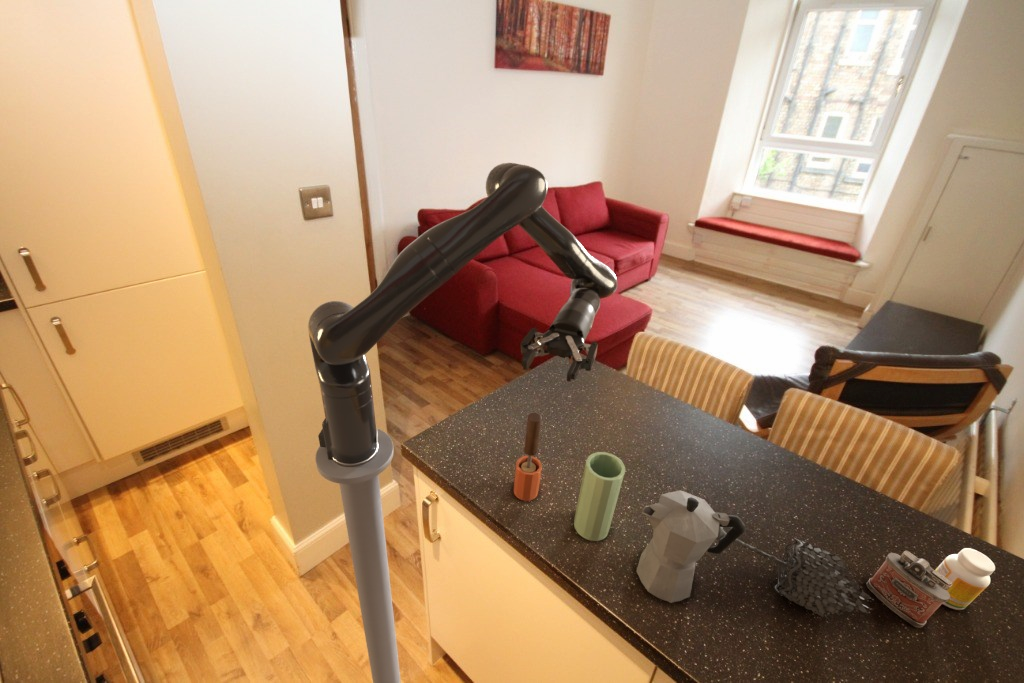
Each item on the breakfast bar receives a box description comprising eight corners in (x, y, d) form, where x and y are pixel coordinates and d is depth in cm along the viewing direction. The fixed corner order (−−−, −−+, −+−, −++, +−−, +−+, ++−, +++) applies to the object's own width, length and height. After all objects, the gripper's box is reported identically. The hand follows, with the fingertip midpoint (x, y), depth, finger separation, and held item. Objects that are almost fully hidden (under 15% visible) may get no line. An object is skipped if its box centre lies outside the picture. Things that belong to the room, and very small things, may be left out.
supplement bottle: (916, 582, 76) (947, 546, 71) (939, 576, 77) (971, 540, 72) (950, 614, 71) (985, 578, 67) (973, 607, 73) (1010, 571, 68)
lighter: (862, 585, 75) (891, 547, 70) (873, 577, 76) (902, 539, 71) (917, 631, 69) (953, 593, 64) (927, 621, 70) (964, 583, 65)
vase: (575, 539, 78) (588, 478, 71) (572, 510, 84) (584, 450, 77) (611, 542, 79) (628, 481, 71) (605, 512, 84) (621, 453, 77)
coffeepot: (627, 599, 70) (653, 522, 61) (620, 545, 78) (642, 471, 69) (727, 611, 69) (768, 536, 60) (709, 556, 77) (743, 483, 68)
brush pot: (513, 500, 85) (515, 473, 82) (513, 480, 89) (516, 455, 86) (538, 501, 85) (542, 475, 82) (537, 482, 89) (541, 456, 86)
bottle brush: (518, 494, 86) (526, 421, 77) (518, 483, 88) (526, 411, 79) (533, 495, 86) (542, 422, 77) (532, 484, 88) (542, 412, 79)
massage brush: (714, 530, 82) (730, 495, 78) (855, 598, 73) (882, 562, 68) (704, 569, 75) (720, 533, 71) (858, 650, 65) (889, 614, 61)
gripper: (541, 301, 93) (510, 347, 81) (608, 315, 88) (585, 366, 77) (540, 330, 98) (511, 377, 86) (604, 345, 93) (582, 397, 81)
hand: (546, 372), depth 81 cm, fingers open, 8 cm apart
